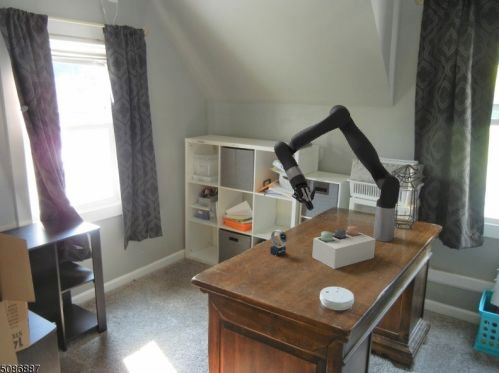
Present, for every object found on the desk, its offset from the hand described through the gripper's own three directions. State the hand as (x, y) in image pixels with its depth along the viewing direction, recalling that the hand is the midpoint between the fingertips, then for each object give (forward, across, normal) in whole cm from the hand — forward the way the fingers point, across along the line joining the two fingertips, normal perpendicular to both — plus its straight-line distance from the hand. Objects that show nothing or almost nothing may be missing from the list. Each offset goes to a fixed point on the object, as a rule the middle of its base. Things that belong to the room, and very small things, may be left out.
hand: (311, 209), depth 189 cm
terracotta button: (+16, +16, 0) cm, 23 cm away
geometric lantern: (+12, +69, +16) cm, 72 cm away
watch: (+12, -15, +17) cm, 25 cm away
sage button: (+16, 0, 0) cm, 16 cm away
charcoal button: (+16, +8, 0) cm, 18 cm away
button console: (+24, +8, +4) cm, 26 cm away
